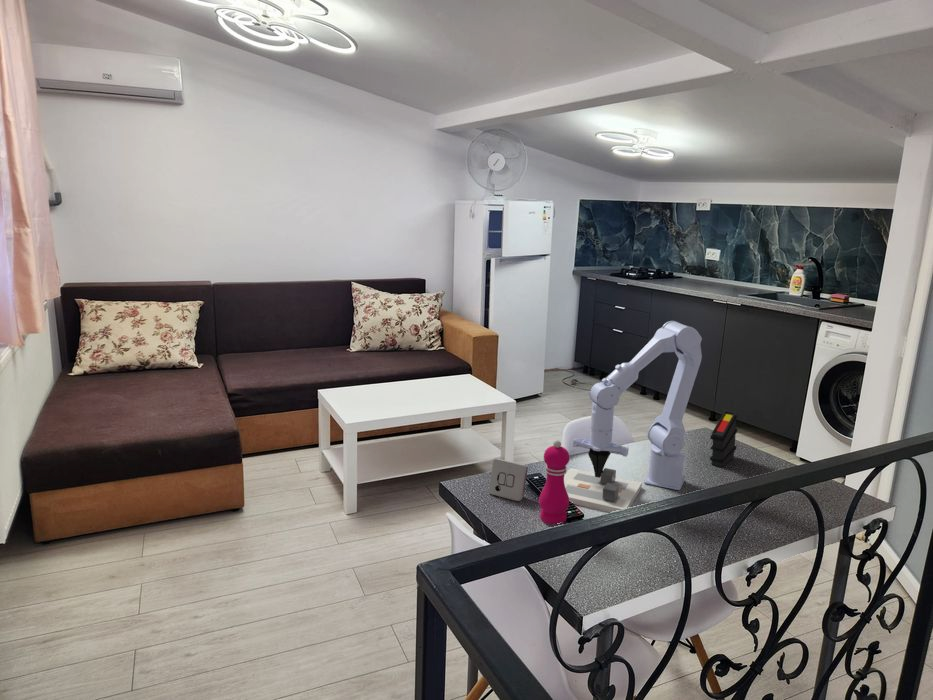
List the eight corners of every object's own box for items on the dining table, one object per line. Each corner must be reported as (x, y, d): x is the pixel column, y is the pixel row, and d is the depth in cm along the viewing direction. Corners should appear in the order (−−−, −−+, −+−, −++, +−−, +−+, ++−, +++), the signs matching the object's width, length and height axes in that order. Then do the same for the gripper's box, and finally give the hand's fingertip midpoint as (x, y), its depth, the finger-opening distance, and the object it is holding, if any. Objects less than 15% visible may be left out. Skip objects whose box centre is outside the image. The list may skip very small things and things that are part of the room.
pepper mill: (532, 514, 161) (536, 437, 156) (558, 509, 163) (562, 433, 159) (547, 528, 154) (551, 447, 150) (574, 522, 157) (578, 443, 152)
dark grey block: (615, 479, 177) (616, 470, 176) (611, 485, 173) (612, 475, 173) (604, 477, 178) (605, 467, 178) (600, 483, 175) (600, 473, 174)
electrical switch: (487, 494, 171) (490, 460, 170) (496, 488, 176) (499, 455, 174) (520, 503, 167) (523, 467, 165) (528, 497, 171) (531, 463, 170)
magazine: (739, 449, 201) (737, 412, 193) (723, 478, 193) (720, 441, 186) (726, 446, 203) (724, 409, 196) (710, 475, 196) (707, 437, 188)
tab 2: (618, 495, 168) (619, 484, 167) (614, 501, 164) (614, 490, 164) (606, 492, 169) (607, 482, 168) (602, 498, 166) (603, 488, 165)
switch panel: (641, 488, 177) (641, 482, 176) (625, 515, 161) (625, 509, 161) (569, 473, 185) (570, 467, 185) (547, 497, 170) (548, 491, 169)
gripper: (570, 427, 173) (567, 475, 176) (625, 437, 167) (621, 487, 170) (578, 420, 180) (575, 466, 183) (631, 429, 173) (628, 477, 176)
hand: (598, 475), depth 177 cm, fingers closed
